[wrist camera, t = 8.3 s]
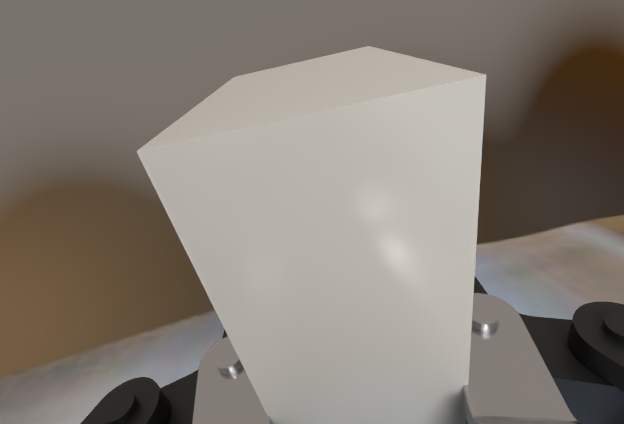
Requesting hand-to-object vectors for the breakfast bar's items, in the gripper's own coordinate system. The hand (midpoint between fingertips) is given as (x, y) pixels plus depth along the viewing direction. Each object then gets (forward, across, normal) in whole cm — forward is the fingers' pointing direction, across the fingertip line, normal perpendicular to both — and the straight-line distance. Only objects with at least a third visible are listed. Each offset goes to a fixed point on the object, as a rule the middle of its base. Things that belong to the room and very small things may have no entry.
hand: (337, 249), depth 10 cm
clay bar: (-3, 0, +9) cm, 9 cm away
